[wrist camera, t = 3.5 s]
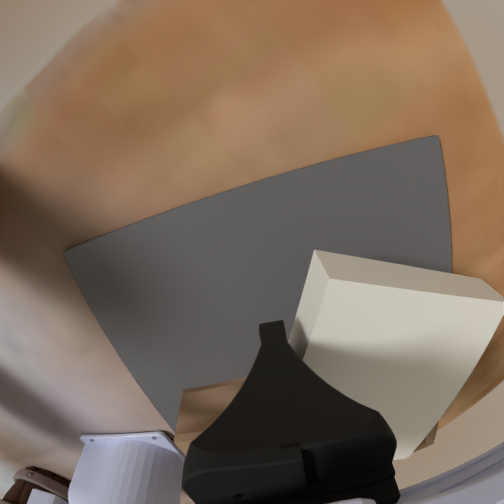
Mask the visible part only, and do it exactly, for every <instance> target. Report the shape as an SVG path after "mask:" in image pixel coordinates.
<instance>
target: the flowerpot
mask: <svg viewBox="0 0 504 504" xmlns="http://www.w3.org/2000/svg"><path fill="white" fill-rule="evenodd" d="M13 479H14V481H15V484H14V485H13V486H12V487H11V488H10V490H9V491H8V492H7V493H6V495H5V496H4V498H3V499H2V500H1V499H0V504H27V502H28V500H29V497H30V494H31V492H32V489H38V490H42V491H45V492H48V493H52V494H55V495H57V496H59V497H61V498H62V499H64V500H65V501H66V502H67V503H68V504H69V501H68V490H69V486H70V483H69V482H67V481H66V480H64V479H62V478H60V477H58V476H53V475H52V474H51V473H50V472H48V471H45V470H38V471H37V469H36V468H34V467H32V466H30V467H26V468H25V469H21V470H19V471H18V472H17V473H16V474H15V475H14V477H13Z"/></svg>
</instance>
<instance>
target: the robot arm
mask: <svg viewBox="0 0 504 504" xmlns="http://www.w3.org/2000/svg"><path fill="white" fill-rule="evenodd" d="M259 336H260V340H261V346H260V349H259V351H258V354H257V357H256V359H255V362H254V364H253V366H252V368H251V370H250V372H249V374H248V376H247V378H246V380H245V382H244V383H243V385H242V387H241V388H240V390H239V391H238V393H237V394H236V396H235V397H234V398H233V400H232V401H231V403H230V404H229V405H228V406H227V408H226V409H225V410H224V411H223V412H222V413H221V415H220V416H219V417H218V418H217V419H216V420H215V421H214V422H213V423H212V424H211V425H210V426H209V427H208V428H207V429H206V430H205V431H204V432H202V433H201V434H200V435H199V436H198V437H197V438H196V439H194V440H193V441H192V442H191V443H190V445H189V448H188V451H187V454H186V457H185V455H184V454H183V453H182V452H181V451H180V450H179V449H178V448H177V446H176V445H175V444H174V443H173V442H172V441H171V440H170V438H169V437H168V436H167V435H166V434H165V433H164V432H161V431H157V432H144V433H129V434H102V435H81V437H80V439H81V441H82V442H83V443H84V444H85V445H84V448H83V450H82V453H81V456H80V458H79V461H78V464H77V466H76V469H75V472H74V475H73V478H72V480H71V483H70V486H69V490H68V501H69V504H180V497H181V489H182V488H183V490H184V491H185V492H186V493H187V495H188V496H189V497H190V498H191V499H192V500H193V501H194V503H195V504H504V442H503V443H501V444H499V445H498V446H496V447H494V448H492V449H491V450H489V451H487V452H485V453H483V454H481V455H480V456H478V457H476V458H474V459H472V460H470V461H468V462H466V463H464V464H462V465H460V466H457V467H455V468H453V469H451V470H449V471H447V472H445V473H442V474H440V475H437V476H435V477H433V478H430V479H428V480H425V481H423V482H420V483H418V484H415V485H412V486H410V487H407V488H404V489H401V490H399V489H398V486H397V484H396V481H395V478H394V476H395V470H394V467H393V465H392V461H393V458H394V455H395V451H396V448H397V440H396V438H395V435H394V433H393V431H392V430H391V428H390V426H389V425H388V423H387V422H386V420H385V419H384V418H383V416H382V415H381V414H380V413H379V412H378V411H376V410H374V409H371V408H369V407H367V406H364V405H362V404H360V403H358V402H356V401H354V400H353V399H351V398H349V397H347V396H346V395H344V394H343V393H341V392H340V391H338V390H337V389H335V388H334V387H332V386H331V385H329V384H328V383H327V382H325V381H324V380H323V379H322V378H320V377H319V376H318V375H317V374H316V373H315V372H314V371H313V370H311V369H310V368H309V367H308V366H307V365H306V363H305V362H304V361H303V360H302V359H301V358H300V357H299V356H298V355H297V353H296V352H295V351H294V349H293V348H292V347H291V346H290V344H289V343H288V341H287V337H286V330H285V326H284V322H283V320H279V321H273V322H268V323H262V324H259ZM27 504H68V503H67V502H66V501H65V500H64V499H62V498H61V497H59V496H57V495H55V494H52V493H48V492H45V491H42V490H38V489H32V492H31V494H30V497H29V500H28V502H27Z"/></svg>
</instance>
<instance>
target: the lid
mask: <svg viewBox="0 0 504 504" xmlns="http://www.w3.org/2000/svg"><path fill="white" fill-rule="evenodd" d="M503 315H504V298H503V297H502V296H501V295H500V294H499V293H497V292H496V291H495V290H494V289H493V288H491V287H490V286H489V285H488V284H487V283H485V282H484V281H483V280H482V279H479V278H473V277H468V276H463V275H457V274H452V273H446V272H440V271H435V270H429V269H424V268H418V267H412V266H407V265H401V264H395V263H390V262H384V261H378V260H372V259H367V258H361V257H355V256H349V255H343V254H337V253H331V252H325V251H319V250H314V252H313V256H312V260H311V263H310V267H309V271H308V274H307V278H306V282H305V285H304V289H303V293H302V296H301V300H300V303H299V307H298V310H297V313H296V317H295V320H294V324H293V327H292V330H291V334H290V337H289V340H288V343H289V344H290V346H291V347H292V348H293V349H294V351H295V352H296V353H297V355H298V356H299V357H300V358H301V359H302V360H303V361H304V362H305V363H306V365H307V366H308V367H309V368H310V369H311V370H313V371H314V372H315V373H316V374H317V375H318V376H319V377H320V378H322V379H323V380H324V381H325V382H327V383H328V384H329V385H331V386H332V387H334V388H335V389H337V390H338V391H340V392H341V393H343V394H344V395H346V396H347V397H349V398H351V399H353V400H354V401H356V402H358V403H360V404H362V405H364V406H367V407H369V408H371V409H374V410H376V411H378V412H379V413H380V414H381V415H382V416H383V418H384V419H385V420H386V422H387V423H388V425H389V426H390V428H391V430H392V431H393V433H394V435H395V438H396V440H397V448H396V451H395V455H394V458H393V460H398V459H404V458H408V457H409V456H410V455H411V454H412V452H413V451H414V450H415V449H416V448H417V447H418V445H419V444H420V443H421V442H422V441H423V439H424V438H425V437H426V436H427V435H428V433H429V432H430V431H431V430H432V428H433V427H434V426H435V424H436V423H437V422H438V421H439V419H440V418H441V417H442V415H443V414H444V413H445V411H446V410H447V408H448V407H449V406H450V404H451V403H452V401H453V400H454V399H455V397H456V396H457V394H458V393H459V391H460V390H461V388H462V387H463V385H464V384H465V382H466V381H467V379H468V377H469V376H470V374H471V373H472V371H473V369H474V368H475V366H476V365H477V363H478V361H479V359H480V358H481V356H482V354H483V353H484V351H485V349H486V347H487V345H488V344H489V342H490V340H491V338H492V336H493V334H494V333H495V331H496V329H497V327H498V325H499V323H500V321H501V319H502V317H503Z"/></svg>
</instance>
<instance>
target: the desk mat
mask: <svg viewBox="0 0 504 504" xmlns="http://www.w3.org/2000/svg"><path fill="white" fill-rule="evenodd" d="M314 250H319V251H325V252H331V253H337V254H343V255H349V256H355V257H361V258H367V259H372V260H378V261H384V262H390V263H395V264H401V265H407V266H412V267H418V268H424V269H429V270H435V271H440V272H446V273H452V253H451V231H450V217H449V205H448V195H447V187H446V179H445V171H444V164H443V158H442V152H441V146H440V140H439V136H437V135H433V136H429V137H424V138H419V139H415V140H410V141H406V142H401V143H397V144H393V145H388V146H384V147H380V148H376V149H372V150H367V151H363V152H359V153H355V154H352V155H348V156H344V157H340V158H336V159H332V160H329V161H325V162H321V163H318V164H314V165H310V166H307V167H303V168H300V169H296V170H293V171H289V172H286V173H282V174H279V175H276V176H272V177H269V178H266V179H262V180H259V181H256V182H253V183H249V184H246V185H243V186H240V187H237V188H233V189H230V190H227V191H224V192H221V193H218V194H215V195H212V196H209V197H206V198H203V199H200V200H197V201H194V202H191V203H188V204H185V205H182V206H180V207H177V208H174V209H171V210H168V211H165V212H163V213H160V214H157V215H154V216H152V217H149V218H146V219H143V220H141V221H138V222H135V223H133V224H130V225H127V226H125V227H122V228H120V229H117V230H114V231H112V232H109V233H107V234H104V235H102V236H99V237H97V238H94V239H92V240H89V241H87V242H84V243H82V244H79V245H77V246H74V247H72V248H70V249H67V250H65V251H64V252H63V253H62V254H63V256H64V258H65V260H66V262H67V264H68V266H69V268H70V270H71V272H72V274H73V276H74V278H75V280H76V282H77V284H78V286H79V288H80V290H81V292H82V294H83V295H84V297H85V299H86V301H87V303H88V305H89V306H90V308H91V310H92V312H93V313H94V315H95V317H96V319H97V320H98V322H99V324H100V326H101V327H102V329H103V331H104V332H105V334H106V336H107V337H108V339H109V340H110V342H111V344H112V345H113V347H114V348H115V350H116V352H117V353H118V355H119V356H120V358H121V359H122V361H123V362H124V364H125V365H126V367H127V368H128V370H129V371H130V373H131V374H132V376H133V377H134V379H135V380H136V382H137V383H138V385H139V386H140V387H141V389H142V390H143V392H144V393H145V394H146V396H147V397H148V398H149V400H150V401H151V403H152V404H153V405H154V407H155V408H156V409H157V410H158V412H159V413H160V414H161V416H162V417H163V418H164V420H165V421H166V422H167V423H168V425H169V426H170V427H171V428H172V430H173V431H174V432H175V431H176V426H177V420H178V415H179V410H180V404H181V399H182V394H183V390H184V389H189V388H195V387H200V386H206V385H211V384H216V383H221V382H225V381H230V380H235V379H239V378H244V377H247V376H248V374H249V372H250V370H251V368H252V366H253V364H254V362H255V359H256V357H257V354H258V351H259V349H260V346H261V340H260V336H259V324H262V323H268V322H273V321H279V320H283V322H284V326H285V330H286V337H287V341H288V340H289V337H290V334H291V330H292V327H293V324H294V320H295V317H296V313H297V310H298V307H299V303H300V300H301V296H302V293H303V289H304V285H305V282H306V278H307V274H308V271H309V267H310V263H311V260H312V256H313V252H314Z"/></svg>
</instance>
